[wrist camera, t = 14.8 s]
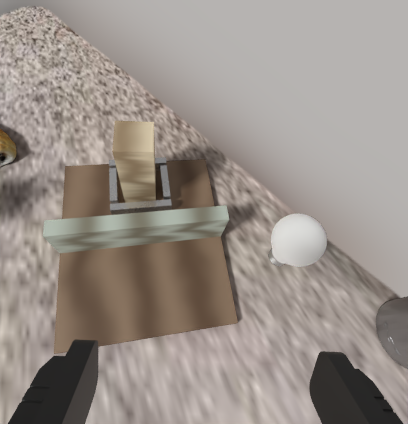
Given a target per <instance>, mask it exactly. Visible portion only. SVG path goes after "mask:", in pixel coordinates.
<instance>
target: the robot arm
mask: <svg viewBox="0 0 408 424" xmlns="http://www.w3.org/2000/svg"><path fill="white" fill-rule="evenodd" d="M376 327H377V333H378V336H379V339H380V341H381V344H382V346H383V347H384V349H385V350H386V352H387V353H388V354H389V355H390V357H391V358H392V359H393V360H394V361H396V362H397V363H398V364H400V365H401V366H403V367H405V368H407V369H408V297H404V298H399V299H395V300H390V301H388V302H386V303H385V304H384V305H382V306H381V308H380V309H379V311H378V314H377V318H376ZM97 380H98V341H97V340H78V339H75V340H74V341H73V342H72V344H71V346H70V348H69V350H68V352H67V354H66V356H53V357H52V358H51V359H50V360H49V361H48V362H47V363H46V364H45V365H44V366H42V367H41V368H40V369H39V371H38V373H37V374H36V376H35V378H34V380H33V381H32V383H31V385H30V388H29V389H28V390H27V392H26V393H25V395H24V397H23V399H22V402H21V403H20V404H19V405H18V407H17V409H16V411H15V412H14V414H13V416H12V418H11V419H10V421H9V423H8V424H85V422H86V419H87V416H88V413H89V410H90V407H91V403H92V400H93V397H94V394H95V390H96V386H97ZM310 396H311V399H312V402H313V404H314V407H315V409H316V411H317V413H318V416H319V418H320V420H321V422H322V424H403V423H402V421H401V420H400V419H399V417H398V416H397V415H396V413H394V412H393V409H392V408H391V406H390V405H389V403H388V402H387V401H386V400H384V396H383V395H382V394H381V392H380V391H379V389H378V388H377V387H376V385H375V384H374V382H373V381H372V380H370V379H369V378H368V377H367V376H366V375H365V374H364V373H363V372H362V371H360V370H359V369H355V368H354V367H353V365H352V364H351V363H350V361H349V360H348V358H347V357H346V355H345V354H343V353H341V352H320V353H319V355H318V358H317V361H316V364H315V367H314V371H313V374H312V377H311V380H310Z"/></svg>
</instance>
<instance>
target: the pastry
mask: <svg viewBox="0 0 408 424" xmlns="http://www.w3.org/2000/svg"><path fill="white" fill-rule="evenodd" d="M16 154H17V151H16V145H15V143H14V142H13V141H12V140H11V139H10V138H9V136H8V135H7V133H5V132H4V131H3V130H1V129H0V167H1V166H3V165H5V164H8V163H10V162H12V161H13V160H14V159H15V157H16Z"/></svg>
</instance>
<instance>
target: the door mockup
mask: <svg viewBox="0 0 408 424" xmlns="http://www.w3.org/2000/svg"><path fill="white" fill-rule="evenodd" d="M166 165H167V172H168V180H169V188H170V196H171V197H170V199H171V204H172V208H171V210H165V211H154V212H142V213H130V214H118V215H112V214H111V212H110V204H111V203H110V183H109V168H110V167H109V164H102V165H83V166H65V180H64V197H63V213H62V219H58V220H46V221H44V230H43V237H44V238H45V239H46V240H47V241H48V242H49V243H50V244H51V245H52V246H53V247H54V248H55V249H56V250H57V251H58V252H59V253H60V262H59V278H58V294H57V310H56V327H55V343H54V354H57V353H63V352H68V350H69V348H70V346H71V344H72V342H73V341H74V340H75V339H78V340H97V341H98V347H99V346H105V345H111V344H117V343H123V342H128V341H134V340H140V339H146V338H152V337H158V336H164V335H170V334H176V333H182V332H188V331H194V330H200V329H206V328H212V327H218V326H224V325H229V324H235V323H238V320H237V315H236V310H235V305H234V300H233V295H232V290H231V285H230V280H229V275H228V270H227V265H226V260H225V255H224V250H223V245H222V240H221V235H222V233H223V231H224V229H225V227H226V225H227V223H228V221H229V215H228V211H227V206H226V205H225V206H215V205H214V200H213V195H212V190H211V185H210V180H209V175H208V170H207V165H206V160H205V159H201V160H181V161H166ZM118 188H119V203H125V200H124V196H123V192H122V188H121V184H120V180H119V176H118ZM156 200H163V193H162V185H161V176H160V171H156Z"/></svg>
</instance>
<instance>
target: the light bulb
mask: <svg viewBox="0 0 408 424" xmlns="http://www.w3.org/2000/svg"><path fill="white" fill-rule="evenodd" d="M271 244H272V248H271V250H270V252H269V254H268V257H269V260H270V261H271V263H273V264H274V265H276V266H283V265H285V264H289V265H291V266H297V267H304V266H308V265H311V264H313V263H315V262H316V261H318V260H319V259H320V258H321V257H322V255H323V254H324V252H325V250H326V246H327V236H326V232H325V230H324V228H323V227H322V225H321V224H320V223H319V222H318V221H317V220H316V219H315V218H313V217H311V216H309V215H306V214H297V213H296V214H291V215H288V216H285V217H284V218H282V219H281V220H280V221H279V222H278V223H277V224H276V225H275V227H274V229H273V231H272V235H271Z"/></svg>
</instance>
